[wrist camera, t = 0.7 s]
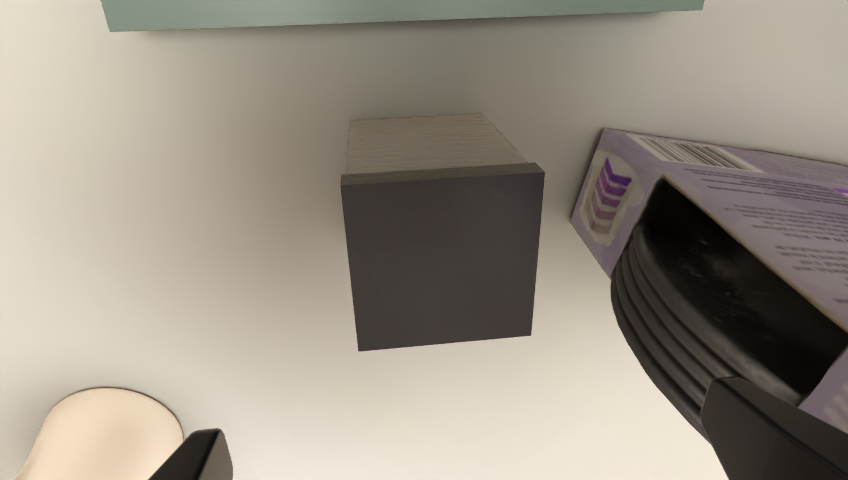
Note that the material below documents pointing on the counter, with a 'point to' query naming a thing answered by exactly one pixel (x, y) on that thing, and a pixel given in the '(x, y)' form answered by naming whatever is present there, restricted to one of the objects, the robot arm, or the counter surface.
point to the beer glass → (103, 438)
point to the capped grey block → (439, 231)
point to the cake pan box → (724, 267)
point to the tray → (351, 11)
